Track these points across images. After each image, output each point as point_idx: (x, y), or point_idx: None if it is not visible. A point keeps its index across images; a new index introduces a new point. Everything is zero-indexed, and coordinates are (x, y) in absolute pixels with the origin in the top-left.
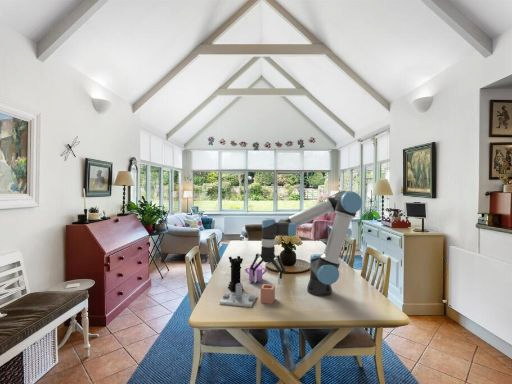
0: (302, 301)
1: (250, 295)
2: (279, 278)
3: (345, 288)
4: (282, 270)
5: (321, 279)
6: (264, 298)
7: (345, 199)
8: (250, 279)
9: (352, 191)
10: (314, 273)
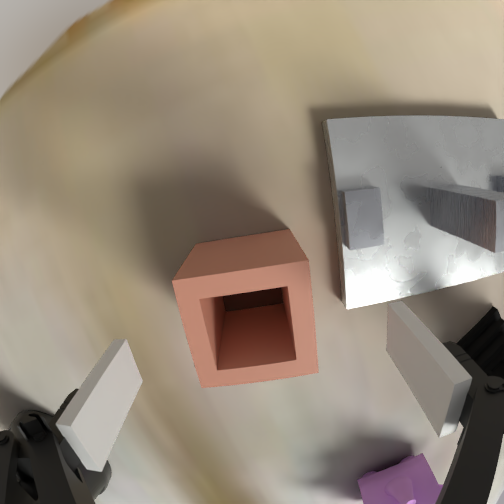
0: (57, 337)
1: (387, 280)
2: (85, 381)
3: None
4: (9, 450)
5: None
6: (260, 241)
7: None
8: (419, 461)
9: None
10: None
